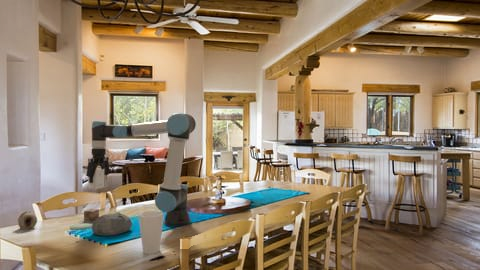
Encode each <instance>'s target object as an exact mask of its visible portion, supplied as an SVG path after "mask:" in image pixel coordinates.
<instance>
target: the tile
mask: <svg viewBox="0 0 480 270" xmlns="http://www.w3.org/2000/svg"><path fill="white" fill-rule="evenodd" d="M78 222H81V223H88V224H93V222H94V221H84V218H83V219H80V220H78Z"/></svg>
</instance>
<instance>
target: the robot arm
mask: <svg viewBox="0 0 480 270" xmlns="http://www.w3.org/2000/svg"><path fill="white" fill-rule="evenodd" d="M195 129H196V120H195V118H194V117H193V115H190V114H188V113H182V112H181V113H180V112H178V113H173V114H172V115H170V116H169V117H168V119H167V120H158V121H157V120H156V121H149V122H143V123H142V122H141V123H131V124H107V122H106V121H104V120H103V121H102V120H94V121H92V123H91V155H92V157H91V158H87V162H88V163H87V167H86V168H87V169H86V175H85V176H86V177H87V178H88V177H89V183H90V188H89V189H91V190H95V177H94V174H95V171H96V168H98V166H100V167H99V168H101V170H102V169H104V187H107V181H108V176H109V174H110V173H111V171H110V170H111V169H110V164H109V163H110V162H109V156H105V155H106V154H107V153H106V152H107V139H124V138H127V139H128V138H129V139H130V138H134V137H143V136H152V135H154V136H155V135H161V134H163V135H164V134H167V138H168V139H169V144H168V151H167V158H166V163H165V171H164V175H163V176H164V177H163V182H162V183H161V184H160V185H159V192H158V193H157V194H156V195H155V198H154V203H155V207H156V208H157V209H158V210H159V211H160V212H162V213H166V214H165V216H164V219H163V225H165V226H168V227H183V226H187V225H189V224H191V217H190V214H189V211H188V191H189V190H188V185H186V184H181V183H180V180H181V173H182V167H183V161H184V155H185V148H186V142H187V141H189V140H190V135H191V134H192V133H193V132H194V131H195ZM91 174H92V175H91Z"/></svg>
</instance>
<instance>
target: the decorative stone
mask: <svg viewBox="0 0 480 270" xmlns="http://www.w3.org/2000/svg"><path fill="white" fill-rule="evenodd" d="M91 224H92V227H91V231H92V232H93V233H94V234H95V235H98V236H115V235H120V234H123V233H125V232H128V231H131V228H132V226H133V223H132V220H131V217H129V216H127V215H126V214H123V213H121V212H120V211H119V212H118V211H116V212H112V213H106V214H103V215H101V216H100V215H99V217H98V218H97V219H96V220H95V221H94V222H93V223H91Z"/></svg>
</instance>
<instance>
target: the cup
mask: <svg viewBox="0 0 480 270" xmlns="http://www.w3.org/2000/svg"><path fill="white" fill-rule="evenodd" d="M164 219H165V212H163V211H160V210H159V211H157V210H156V211H143V212H142V213H139V214H138V221H139V229H140V230H139V231H140V239H141V247H142V253H144V254H146V255H151V254H153V255H155V254H157V253H159V252H160V251H161V241H162V234H163V226H164Z"/></svg>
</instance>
